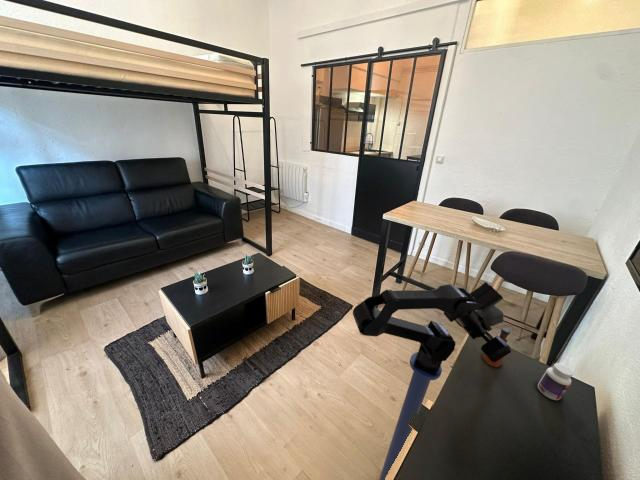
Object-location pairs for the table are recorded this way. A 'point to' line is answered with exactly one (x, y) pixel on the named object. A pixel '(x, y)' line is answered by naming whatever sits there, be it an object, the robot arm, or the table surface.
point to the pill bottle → (555, 381)
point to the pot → (495, 364)
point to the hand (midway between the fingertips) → (487, 343)
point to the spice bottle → (504, 334)
